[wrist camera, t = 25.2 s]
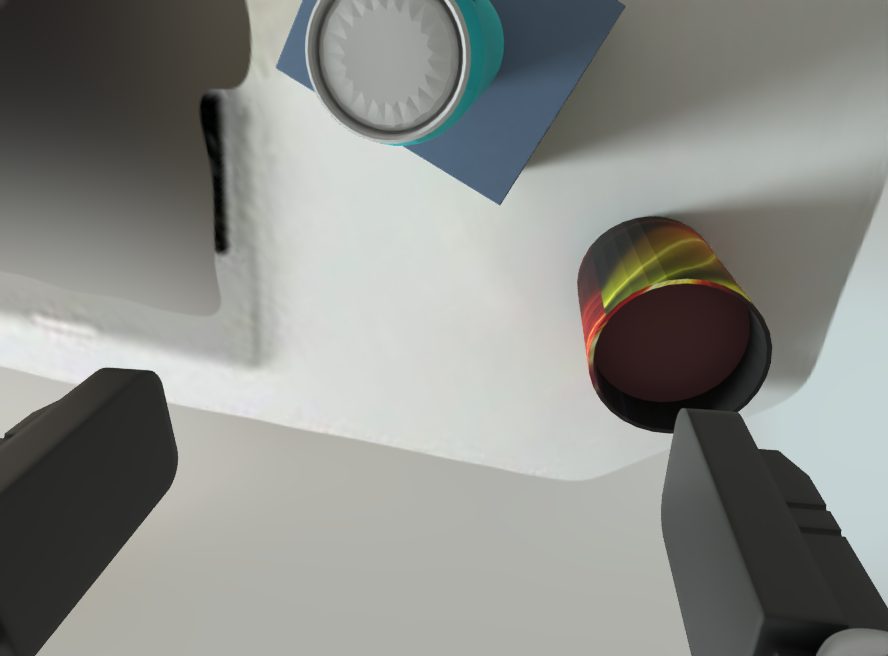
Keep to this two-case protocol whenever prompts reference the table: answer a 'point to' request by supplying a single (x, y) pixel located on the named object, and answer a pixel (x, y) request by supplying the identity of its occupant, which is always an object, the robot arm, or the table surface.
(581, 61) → the box lid
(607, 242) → the mug
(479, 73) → the beverage can
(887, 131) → the table surface
